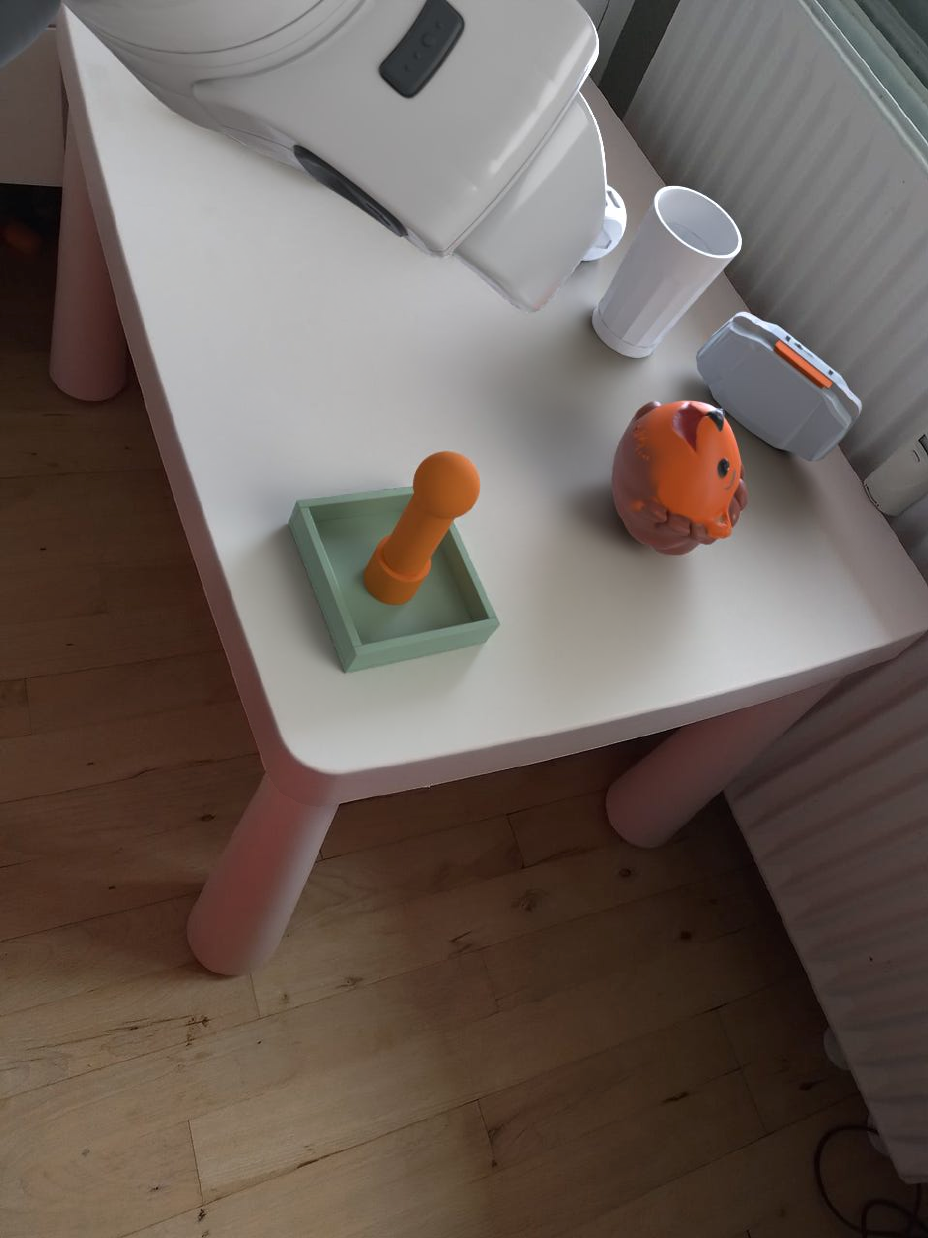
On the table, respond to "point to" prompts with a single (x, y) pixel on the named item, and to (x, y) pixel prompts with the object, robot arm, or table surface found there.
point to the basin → (360, 624)
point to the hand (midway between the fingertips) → (366, 147)
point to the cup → (665, 270)
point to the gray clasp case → (777, 387)
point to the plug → (422, 526)
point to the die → (609, 226)
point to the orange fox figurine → (678, 476)
